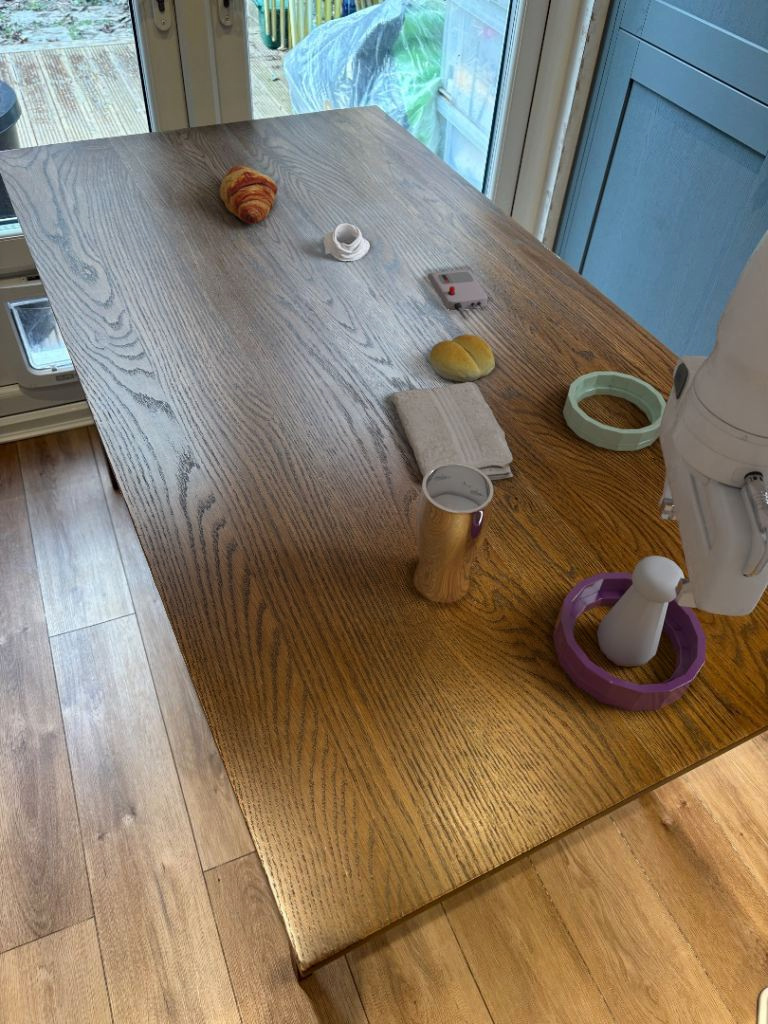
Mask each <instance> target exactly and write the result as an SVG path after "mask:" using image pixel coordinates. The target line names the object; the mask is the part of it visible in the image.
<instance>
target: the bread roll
mask: <svg viewBox="0 0 768 1024" xmlns="http://www.w3.org/2000/svg"><path fill="white" fill-rule="evenodd" d="M429 364H430V367H431V369H432V371H433V372H434V373H435V374H437V375H438V376H440V377H441V378H444V379H446V380H450V381H453V382H456V383H457V382H458V383H465V382H474V381H477V380H478V379H479V378H485V377H486V376H488V375H489V374H490V373H492V371H493V370H494V369H495V366H496V365H495V355H494V352H493V350H492V349H491V347H490V345H489V344H488V343H487V342H486V341H485V340H484V339H482V338H481V337H479V336H478V335H474V334H461V335H459V336H456V337H455V338H453V339H452V340H443V341H439V342H437V343H436V344H435V345H434V346H433V347H432V349H431V350H430V353H429Z"/></svg>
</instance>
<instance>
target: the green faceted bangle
mask: <svg viewBox="0 0 768 1024" xmlns="http://www.w3.org/2000/svg"><path fill="white" fill-rule="evenodd" d="M598 395H599V396H612V397H617V398H620V399H624V400H626V401H627V402H630V403H632V404H634V405H636V406H637V407H638V408H639V409H640V410H641V411H642V412H643V413H644V414H645V415H646V417H647V419H648V421H649V425H647V426H643V427H641V428H618V427H615V426H610V425H606V424H604V423H601V422H599V421H598V420H597V419H594V418H592V417H590V416H588V414H587V413H586V412H585V411H583V410H582V408H580V406H579V404H578V403H580V402H581V401H582V400H583V399H585V398H589V397H592V396H598ZM666 404H667V401H666V400H665V399H664V397H663V395H662V394H661V392H659V391H658V390H657V389H655V387H653V385H651V384H650V383H649V382H646V381H645V380H642V379H640V378H637V377H636V376H633V375H631V374H626V373H622V372H618V371H612V370H611V371H605V370H604V371H603V370H602V371H593V372H592V371H591V372H589V373H585V374H583V375H580V376H578V377H577V378H576V379H575V380H574V381H572V383H570V385H569V389H568V392H567V395H566V399H565V402H564V406H563V410H562V415H563V417H564V420H565V422H566V425H567V426H568V427H569V428H570V429H571V431H573V432H574V433H575V434H576V435H577V436H578V437H579V438H581V439H583V440H584V441H585V442H588V443H590V444H592V445H594V446H596V447H599V448H603V449H608V450H611V451H616V452H622V451H623V452H625V451H627V452H630V451H631V452H632V451H638V450H641V449H644V448H647V447H650V446H651V445H652V444H654V442H655V441H656V440H657V439H658V438H659V434H660V424H661V419H662V416H663V413H664V410H665V407H666Z"/></svg>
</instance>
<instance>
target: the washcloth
mask: <svg viewBox="0 0 768 1024" xmlns="http://www.w3.org/2000/svg"><path fill="white" fill-rule="evenodd" d="M389 401H390V402H391V403H393V405H394V406H395V409H396V410H395V412H396V414H397V415H398V417H399V418H398V419H399V421H400V423H401V426H402V427H403V428H402V429H403V430H404V432H405V433H404V435H406V436H405V437H406V438H407V440H408V444H409V446H410V447H411V449H412V451H413V455H414V458H415V460H416V462H417V463H416V464H417V466H418V468H419V471H420V474H421V476H422V478H423V479H424V477H425V475H426V474H427V472H428V471H429V470H431V469H432V468H434V467H435V466H438V465H440V464H444V463H452V462H456V463H464V464H468V465H471V466H474V467H476V468H478V469H479V470H481V471H482V472H484V473H485V474H486V475H487V476H488V478H489V479H490V480H491V481H494V480H502V479H509V478H512V477H514V475H513V473H512V470H511V467H510V464H511V463H512V462H513V460H514V459H513V455H512V452H511V451H510V448H509V447H508V442H507V440H506V433H505V430H503V429H502V428H501V426H500V423H498V421H497V419H496V417H495V415H494V413H493V411H492V409H491V408H490V406H489V404H488V403H487V401H486V399H484V396H483V394H482V392H481V391H480V389H479V387H478V385H477V384H475V383H474V381H471V382H458V383H454V384H449V385H446V386H442V387H436V388H432V389H429V388H417V389H407V390H402V391H401V390H400V391H395V392H393V393H391V395H390V398H389Z"/></svg>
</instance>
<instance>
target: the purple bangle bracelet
mask: <svg viewBox="0 0 768 1024" xmlns="http://www.w3.org/2000/svg"><path fill="white" fill-rule="evenodd" d="M632 576H633V573H630V572H626V571H622V572H621V571H619V572H599V573H597V574H595V575H592V576H589V577H587V578H585V579H581V580H580V581H578V582H577V583H576V584H575V585H574V587H572V589H571V590H570V591H569V592H568V593H567V594H566V596H564V598H563V601H562V604H561V607H560V609H559V611H558V615H557V617H556V621H555V624H554V625H555V627H554V630H553V636H552V641H553V645H554V648H555V652H556V655H557V660H558V662H559V665H561V667H562V669H563V670H564V671H565V673H566V674H567V675H568V677H569V678H570V680H572V681H573V683H574V684H575V685H576V686H577V687H579V688H580V690H582V691H584V692H585V693H587V694H589V695H590V696H591V697H592V698H594V699H596V700H597V701H598V702H600V703H603V704H605V705H609V706H612V707H616V708H618V709H622V710H625V711H629V712H640V711H643V712H644V711H658V710H661V709H663V708H665V707H667V706H669V705H671V704H673V703H675V702H677V701H679V700H680V699H682V697H683V695H684V694H685V692H686V691H687V690H688V688H689V687H690V685H691V684H692V683H693V682H694V680H695V678H696V676H697V675H698V674H699V672H700V670H701V668H702V667H703V666H704V664H705V663H706V651H707V650H706V649H707V637H706V634H705V632H704V630H703V627H702V625H701V623H700V620H699V618H698V616H697V614H696V613H695V612H694V611H693V610H692V609H691V607H683V606H679V605H678V603H677V597H676V598H675V599H674V600H672V601H671V602H668V607H667V611H666V615H665V619H664V623H663V627H662V632H663V633H664V634H665V635H666V636H667V637H668V639H669V641H670V644H671V646H672V649H673V651H674V654H675V663H674V672H673V673H672V675H671V676H670V678H669V679H666V680H665V681H662V682H661V683H651V684H649V683H648V684H639V683H635V682H632V681H629V680H625V679H622V678H619V677H616V676H613V675H612V674H610V673H608V672H607V671H606V670H604V669H603V668H601V667H600V666H598V665H597V664H596V663H594V662H593V661H591V660H590V659H589V657H588V656H587V655H586V653H585V652H584V651H583V650H582V648H581V647H580V646H579V644H578V643H577V642H576V639H575V634H574V631H575V626H576V622H577V621H578V620H579V619H580V617H581V616H582V615H583V614H584V613H586V612H589V611H591V610H593V609H596V608H598V607H611V606H612V607H614V605H615V604H616V603H617V602H618V601H619V600H620V598H621V597H622V596H623V595H624V594H625V593H626V591H627V590H628V589H629V588H630V587H631V586H632V584H633V582H632Z"/></svg>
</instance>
